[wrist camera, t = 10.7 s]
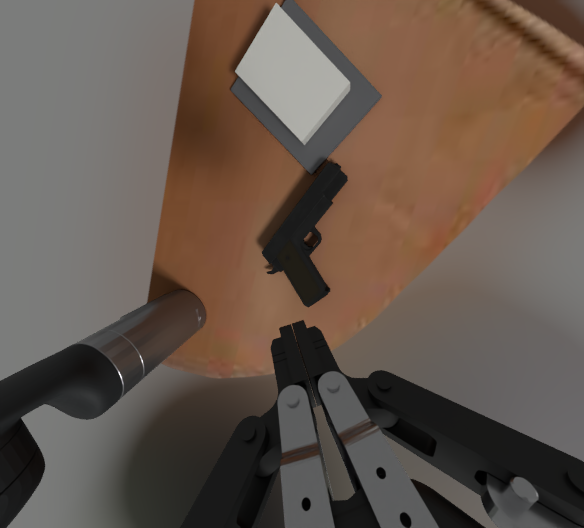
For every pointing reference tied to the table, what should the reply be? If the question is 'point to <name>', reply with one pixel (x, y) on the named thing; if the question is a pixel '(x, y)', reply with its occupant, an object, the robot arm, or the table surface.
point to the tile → (292, 75)
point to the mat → (338, 121)
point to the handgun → (289, 238)
